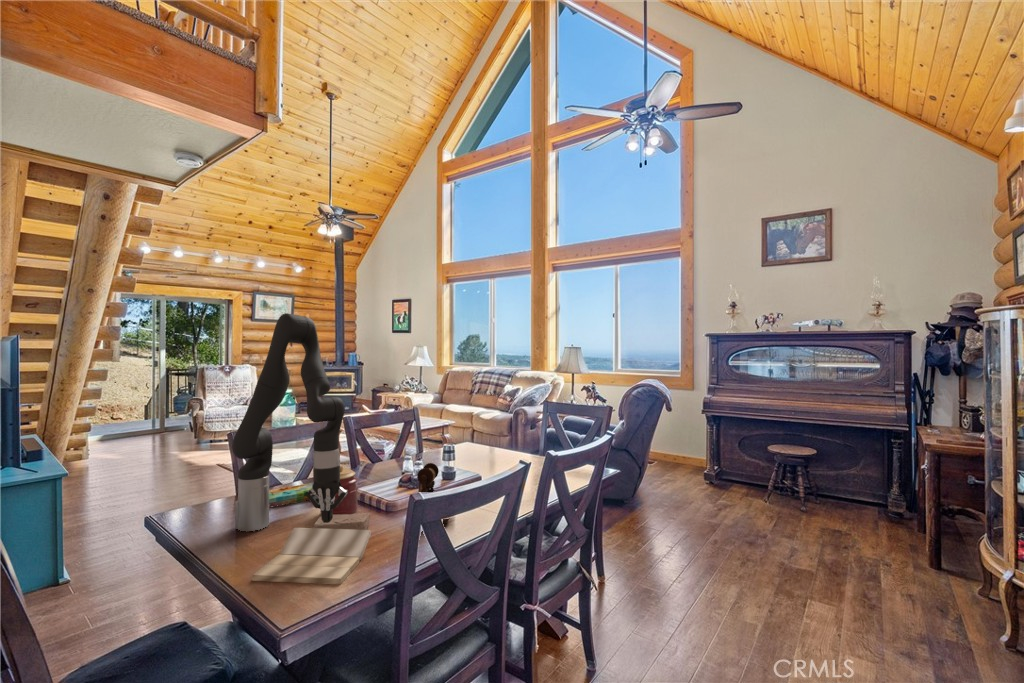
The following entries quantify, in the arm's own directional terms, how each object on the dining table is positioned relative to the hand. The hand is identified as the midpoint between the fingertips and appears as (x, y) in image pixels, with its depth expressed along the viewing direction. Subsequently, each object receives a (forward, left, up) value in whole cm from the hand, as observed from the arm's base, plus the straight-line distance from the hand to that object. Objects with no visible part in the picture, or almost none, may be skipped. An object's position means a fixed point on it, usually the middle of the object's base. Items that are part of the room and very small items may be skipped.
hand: (327, 521), depth 141 cm
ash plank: (+1, -2, -6) cm, 6 cm away
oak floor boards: (+1, -13, -9) cm, 15 cm away
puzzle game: (-35, +43, -9) cm, 57 cm away
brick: (-2, +15, -9) cm, 18 cm away
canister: (-10, +30, -9) cm, 33 cm away
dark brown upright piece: (+25, +23, -9) cm, 35 cm away
